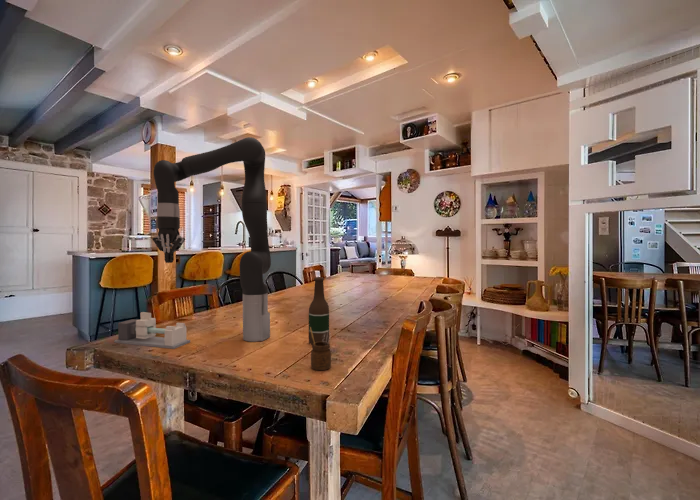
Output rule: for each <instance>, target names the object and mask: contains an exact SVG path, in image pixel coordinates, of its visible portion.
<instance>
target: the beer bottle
mask: <svg viewBox="0 0 700 500" xmlns="http://www.w3.org/2000/svg"><path fill="white" fill-rule="evenodd" d="M313 281H314V287H313V288H314V290H313V291H314V292H313V298H312V299H313V300H312V301H311V303H310V304H309V308H308V343H309V344H310V345H313V343H314V342H313V338H312V335H311V331H310V327H311V330H312V333H313V337H314V341H315V342H320V341H323V342H328V343H329V341H330V340H329V339H330V338H329V337H330V305H329V304H328V302H327V300H326V298H325V297H326V296H325V289H324V288H325V287H324V281H325V279H324V277H323V276H316V277H314V280H313ZM327 330H328V331H327ZM325 331H327V332H325ZM324 334H325V335H324ZM327 335H328V336H327ZM324 336H325V337H324ZM326 338H327V339H326ZM326 340H327V341H326ZM328 340H329V341H328Z"/></svg>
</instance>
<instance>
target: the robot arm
mask: <svg viewBox="0 0 700 500" xmlns="http://www.w3.org/2000/svg"><path fill="white" fill-rule="evenodd" d="M240 162H243V169H244V183H243V190H242V194H241V214H242V216H241V217H242V220H243V222H244V226H245V229H247V233H248V235H249V241H250V251H248V252H247V251H246V252H245V253H244V254H242V256H241V258H240V259H239V281H240V282H239V283H240V287H241V290H242V340H243V341H246V342H263V341H266V340H267V339H269V338H270V337H271V313H270V312H269V309H268V307H269V304H268V303H269V301H268V300H269V299H268V298H269V288H268V285H267V284H265V282H264V277H263V276H264V274H267V272H269V270H270V268H271V265H272V258H271V252H270V244H269V232H268V230H269V229H268V208H267V207H268V204H267V203H268V202H267V193H266V192H267V191H266V184H265V167H266V166H265V165H266V150H265V148H264V146H263V145H262V143H261V142H260V141H259V140H258V139H257V138H255V137H252V136H251V137H250V136H247V137H245V138H242V139H239V140H237V141H235V142H232V143H230V144H228V145H224V146H221V147H219V148H215V149H212V150H209V151H205V152H201V153H196V154H192V155H188V156H185V157H183V158H182V159H181V161H178V162H173V163H172V161H169V160H164V159H161V160H159V161H157V162H156V163H155V165H154V167H153V178H154V182H155V186H156V190H157V191H156V192H157V206H156V228H157V229H158V232H157V236H154V237H152V241H153V242H154V243H155V246H156V247H157V248H158V250H159V251H161V252H163V253H164V256H163V257H164V262H165V263H167V264H171V263H173V262H174V260H175V254H174V253H175V252H178V251H180V248H181V247H182V245H183V243H184V242H185V240H186V238H185V237H182V235H181V234H180V231H179V230H180V228H181V218H180V217H181V214H180V212H181V211H180V199H179V198H180V196H179V195H180V194H179V190H178V189H177V188H176V186H175V184H176V182H180V181H183V180H186V179H188V178H190V177H193V176H198V175H201V174H207V173H208V172H212V171H214V170H217V169H219V168H220V167H223V166H225V165H228V164H232V163H240Z"/></svg>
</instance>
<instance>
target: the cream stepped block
mask: <svg viewBox="0 0 700 500" xmlns="http://www.w3.org/2000/svg"><path fill="white" fill-rule="evenodd" d="M135 320H136V338H141V339H146V338H149V337H152V336H154V337H156V336H157V333H150V332H147V327H151V328H157V324H156V323H157V322H156V321H157V320H156V317H152V313H151V312H145V311H142V312H140V319H135Z"/></svg>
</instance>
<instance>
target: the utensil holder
mask: <svg viewBox="0 0 700 500" xmlns="http://www.w3.org/2000/svg"><path fill="white" fill-rule="evenodd" d="M310 331H311V335H312V338H313V342H314V343H313V344H311V348H312V349H311V353H310V366H311V369H313V370H314V371H326V370H328V369H330V368H331V366H332V351H331V349H330V348H331V345H330V341H331V336H329V340H328V342H323V341H320V342H315V341H314V337H313V333H312V330H311V327H310ZM327 331H328V330H327ZM327 331H325V332H327ZM324 335H325V334H324ZM327 336H328V335H327ZM324 337H325V336H324ZM326 339H327V338H326ZM326 341H327V340H326Z"/></svg>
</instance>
